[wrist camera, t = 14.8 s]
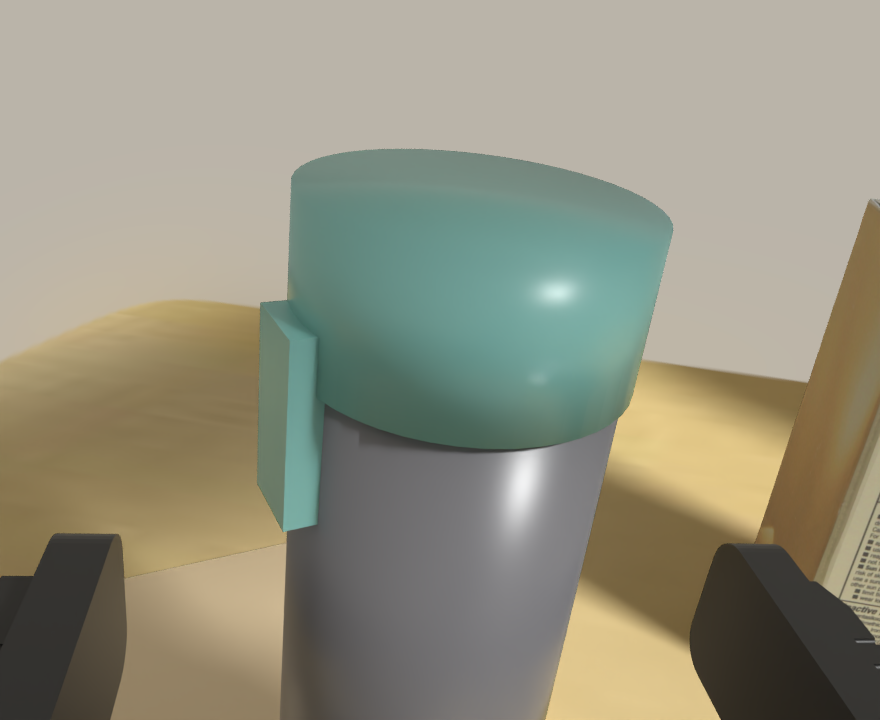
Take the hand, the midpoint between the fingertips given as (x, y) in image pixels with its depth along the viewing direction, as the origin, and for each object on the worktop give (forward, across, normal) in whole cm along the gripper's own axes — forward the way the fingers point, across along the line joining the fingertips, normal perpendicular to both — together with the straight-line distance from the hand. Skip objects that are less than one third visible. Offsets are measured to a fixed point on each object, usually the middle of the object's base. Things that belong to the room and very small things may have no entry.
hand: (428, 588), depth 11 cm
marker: (0, 0, +8) cm, 8 cm away
